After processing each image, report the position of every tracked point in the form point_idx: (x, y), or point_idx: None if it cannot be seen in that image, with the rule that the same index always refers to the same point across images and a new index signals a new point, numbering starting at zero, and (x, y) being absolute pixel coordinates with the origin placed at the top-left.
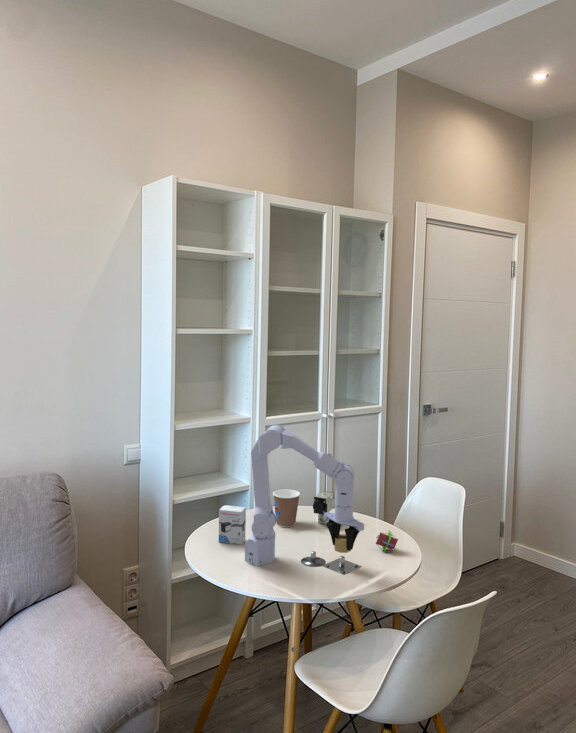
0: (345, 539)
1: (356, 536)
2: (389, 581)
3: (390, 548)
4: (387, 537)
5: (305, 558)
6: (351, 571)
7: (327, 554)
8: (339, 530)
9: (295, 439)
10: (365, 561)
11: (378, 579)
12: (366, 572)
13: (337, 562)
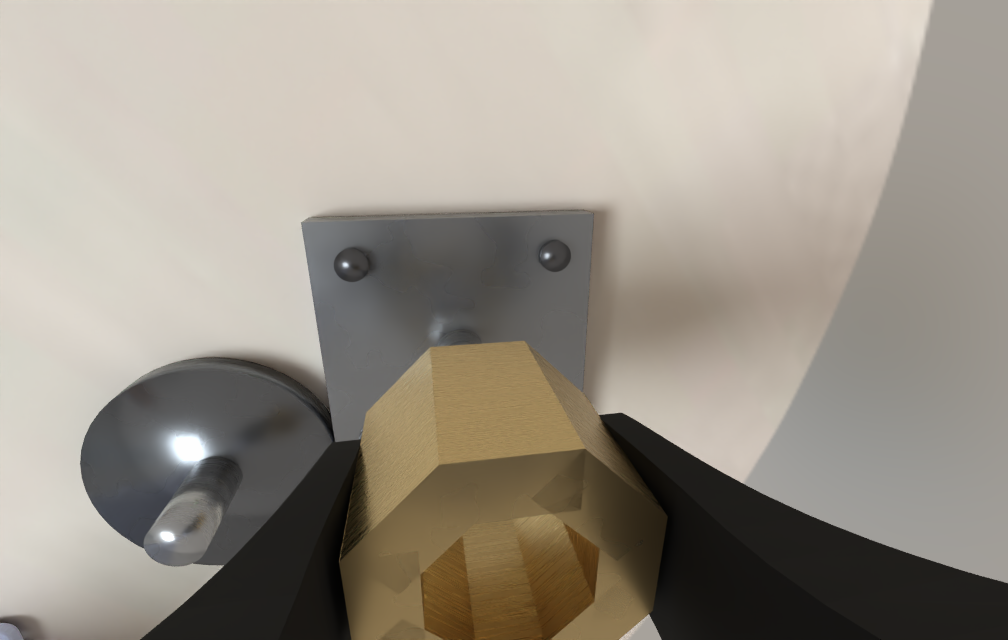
0: (609, 612)
1: (809, 527)
2: (849, 220)
3: None
4: None
5: (110, 489)
6: (583, 364)
7: (76, 183)
8: (300, 605)
9: None
10: (495, 6)
11: (771, 257)
12: (641, 226)
13: (375, 326)
